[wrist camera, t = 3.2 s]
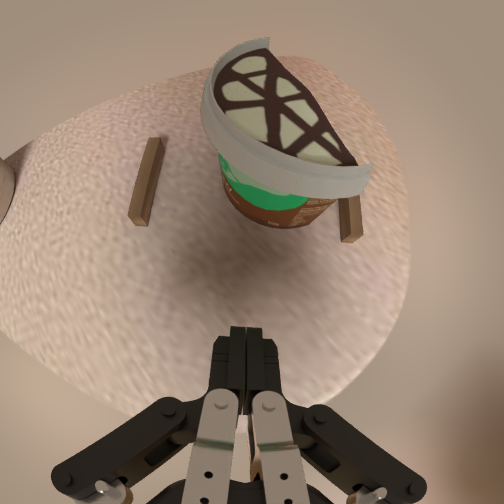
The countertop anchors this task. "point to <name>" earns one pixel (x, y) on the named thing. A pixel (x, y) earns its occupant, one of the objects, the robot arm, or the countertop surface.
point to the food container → (274, 141)
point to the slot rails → (149, 177)
